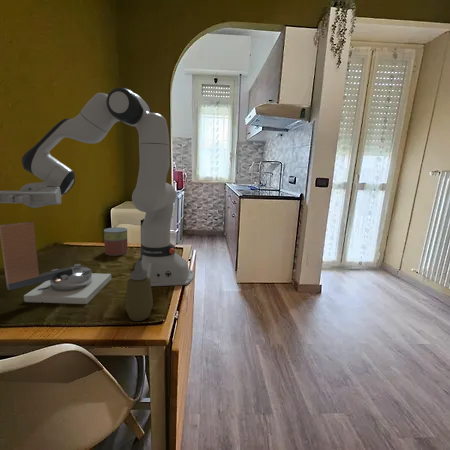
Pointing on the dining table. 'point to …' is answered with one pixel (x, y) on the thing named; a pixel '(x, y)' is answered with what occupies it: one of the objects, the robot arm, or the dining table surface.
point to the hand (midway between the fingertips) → (13, 199)
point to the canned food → (115, 241)
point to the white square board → (68, 292)
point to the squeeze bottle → (139, 294)
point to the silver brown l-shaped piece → (34, 262)
